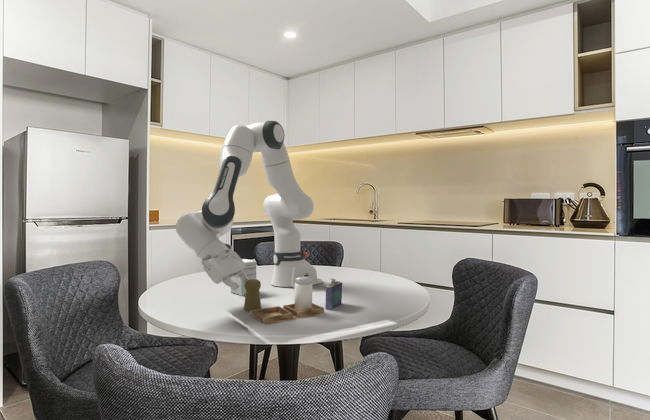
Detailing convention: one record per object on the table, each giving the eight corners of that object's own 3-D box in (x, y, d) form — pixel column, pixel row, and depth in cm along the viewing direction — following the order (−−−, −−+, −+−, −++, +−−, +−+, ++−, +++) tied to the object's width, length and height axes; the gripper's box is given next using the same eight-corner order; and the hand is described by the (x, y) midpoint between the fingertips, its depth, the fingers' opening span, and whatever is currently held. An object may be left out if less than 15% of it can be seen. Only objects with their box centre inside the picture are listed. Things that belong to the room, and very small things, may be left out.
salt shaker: (306, 307, 130) (306, 275, 130) (315, 312, 126) (315, 278, 125) (291, 310, 127) (291, 277, 127) (300, 314, 123) (300, 280, 122)
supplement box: (230, 292, 157) (230, 260, 156) (245, 289, 162) (245, 258, 162) (241, 296, 152) (241, 262, 151) (256, 292, 157) (257, 260, 157)
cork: (265, 312, 131) (265, 278, 130) (255, 317, 125) (255, 282, 125) (250, 309, 133) (250, 277, 133) (239, 314, 128) (239, 280, 127)
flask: (330, 314, 128) (330, 281, 128) (322, 313, 130) (322, 280, 129) (343, 308, 136) (343, 276, 136) (335, 306, 138) (335, 275, 137)
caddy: (307, 309, 134) (307, 300, 134) (325, 318, 125) (325, 308, 125) (249, 319, 123) (249, 309, 123) (265, 329, 114) (265, 319, 113)
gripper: (205, 252, 120) (237, 285, 119) (232, 244, 140) (259, 273, 139) (192, 266, 121) (222, 300, 119) (220, 256, 141) (246, 285, 140)
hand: (242, 285), depth 129 cm, fingers open, 8 cm apart
